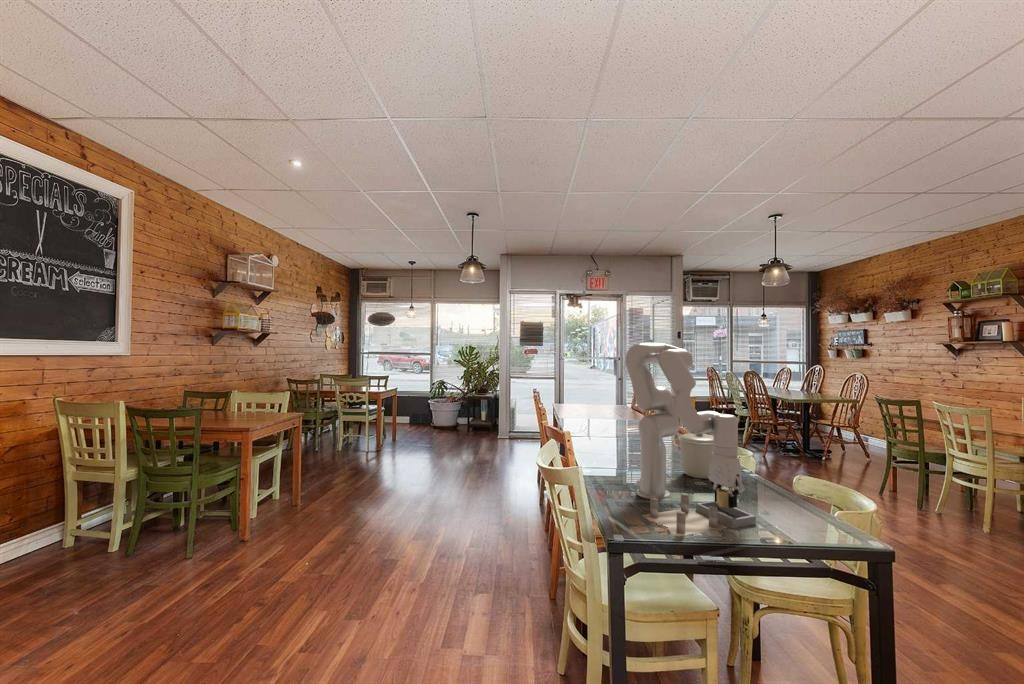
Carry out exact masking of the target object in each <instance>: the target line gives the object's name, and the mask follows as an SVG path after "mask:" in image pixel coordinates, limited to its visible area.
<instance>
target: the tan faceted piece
mask: <svg viewBox="0 0 1024 684" xmlns="http://www.w3.org/2000/svg"><path fill="white" fill-rule="evenodd" d="M728 496H730V493H729V489H728V488H727V487H722V488H719V489H716V504H717V505H718V506H719V507H724V508H729V507H728Z"/></svg>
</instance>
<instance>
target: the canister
mask: <svg viewBox="0 0 1024 684" xmlns="http://www.w3.org/2000/svg"><path fill="white" fill-rule="evenodd" d="M678 440H679V447H680V457H681V465H682V470H683V472H684V474H686V476H688V477H690V476H691V478H694V479H702V480H703V479H704V480H705V479H708V480H709V478H708V476H709V468H710V459H711V455H712V453H714V448H713V445H714V435H713V434H709V433H708V434H707V433H703V434H692V433H690V432H688V433H684V434H682V435H680V436H678Z"/></svg>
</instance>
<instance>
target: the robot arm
mask: <svg viewBox="0 0 1024 684" xmlns="http://www.w3.org/2000/svg"><path fill="white" fill-rule="evenodd" d="M624 361H625V368H626V370H627V373H628V376H629V378H630V381H631V386H632V391H633V395H634V399H635V403H636V405H637V408H638V409H639V410H640V411H642V412H653V411H654V412H655V413H653V414H647V415H644V416H643V417H642V418H641V419H640V420H639V422H638V428H637V429H638V434H639V438H640V440H639V441H640V478H639V479H637V480H636V483H637V484H638V485H639V488H637V489H636V495H638V496H639V497H640V498H643V499H647V500H650V498H657V499H658V500H662V499H669V498H670V497H671V493H670V491H669V490H667V449H666V445H665V442H664V438H669V437H672V436H675V435H677V433H678V432H679V430H680V423H681V425H682V426H683V427H684V429H685V430H686V431H687V432H688V433H692V434H703V433H704V434H707V433H708V434H709V433H713V436H714V445H713V448H714V453H712V455H711V459H710V468H709V476H708V480H709V482H710V483H711V485H712V489H713V491H714V501H715V502H716V489H719V488H723V487H724V488H727V489H729V493H730V496H728V507H729V508H738V496H739V495H740V494H741V493H742V492H744V491H745V490H746V488H745V485H744V484H743V482H742V467H741V462H740V458H739V443H738V441H739V424H738V423H739V420H738V417H737V416H735V415H733V414H727V413H719V412H717V411H713V410H703V411H697V409H696V408H695V406H694V404H693V402H692V399H691V394H692V393H691V392H692V390H693V389H694V388H695V387H696V385H697V382H696V379H695V377H694V376H693V374H692V373H691V371H690V370H689V369H691V368H692V366H693V362H694V359H693V356H692V354H691V353H690V351H688V350H686V349H685V348H680V347H677V346H674V345H670V344H667V343H662V342H639V343H636V344H635V343H634V344H633V345H631V347H629V349H628V350H627V351H626V355H625V360H624ZM651 364H652V365H654V364H658V366H659V367H660V369H661V371H662V373H663V375H664V376H665V378H666V380H667V382H668V383H669V385H670V387H671V389H672V391H673V393H674V396H673V395H672V393H671V391H670V390H668V389H667V388H666V387H665V386H661V385H660V386H659V385H658V386H656V385H655V382H654V378H653V375H652V373H651V371H650V369H649V368H648V367H647V365H651Z"/></svg>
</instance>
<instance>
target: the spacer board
mask: <svg viewBox="0 0 1024 684" xmlns="http://www.w3.org/2000/svg"><path fill="white" fill-rule="evenodd" d="M649 500H650V502H649V505H650V507H649V508H650V510H649V513H647V514H646V513H645V514H642V515H640V516H641V517H643V518H645V519H647V520H648V521H649V522H651V523H653V522H652V521H654V522H660V523H662V524H663V526H666V527H668V529H669V531H670V532H669V533H670V534H672V535H673V534H674V536H675V537H677V536H678V537H677V538H679V537H684V536H690V535H694V534H695V535H696V534H700V533H701V534H702V533H705V532H711V531H716V530H722V529H727V528H728V527H729V526H727V525H725V524H722V523H720V522H718V512H719V511H718V508H717V507H715V506H709V517H708V516H706V515H704V514H702V513H700V512H698V511H696V510H695V511H694V510H693V509H691V508H689V507H690V495H689V493H684V492H683V493H680V508H679V509H673V510H665V511H660V512H659V499H657V498H650V499H649Z"/></svg>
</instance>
